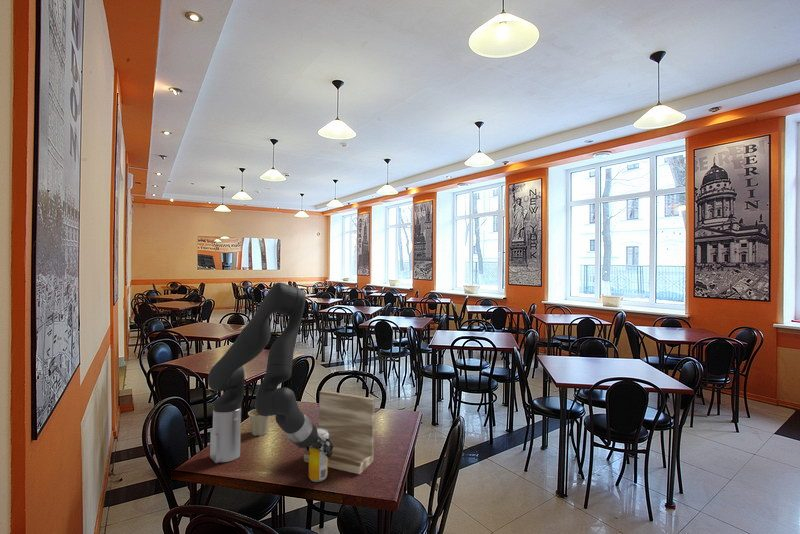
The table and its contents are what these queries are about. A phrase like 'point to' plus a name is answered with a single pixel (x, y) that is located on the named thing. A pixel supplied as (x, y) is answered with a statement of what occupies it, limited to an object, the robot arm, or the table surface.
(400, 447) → the table surface
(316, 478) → the beer can
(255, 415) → the flower pot
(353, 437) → the wall board
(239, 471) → the table surface
